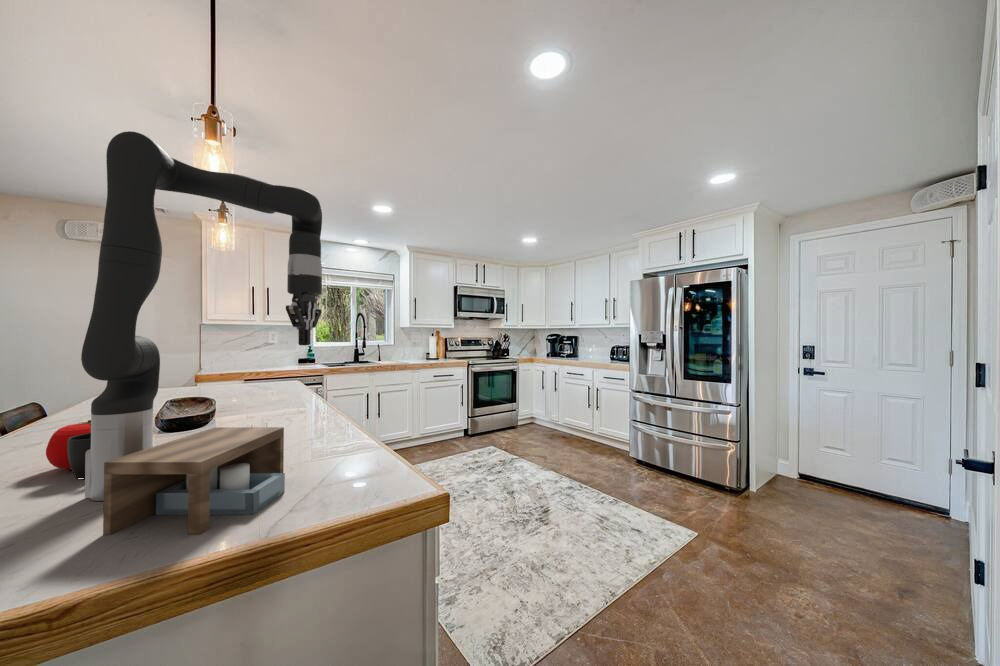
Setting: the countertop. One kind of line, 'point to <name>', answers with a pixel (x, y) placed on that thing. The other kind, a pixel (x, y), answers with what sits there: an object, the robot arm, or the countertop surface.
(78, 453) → the mug
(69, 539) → the countertop surface
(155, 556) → the countertop surface
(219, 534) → the countertop surface
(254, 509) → the tray
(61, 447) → the tomato
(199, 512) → the counter shelf
